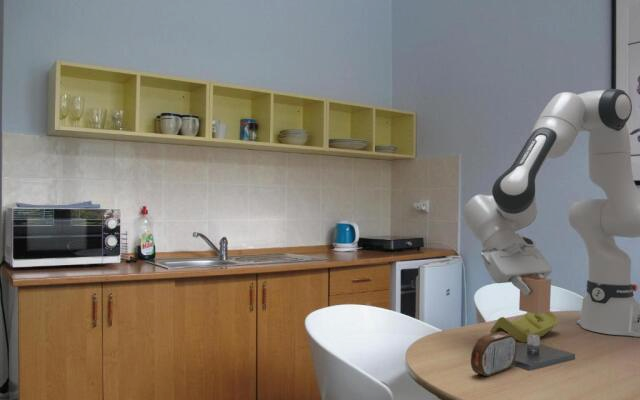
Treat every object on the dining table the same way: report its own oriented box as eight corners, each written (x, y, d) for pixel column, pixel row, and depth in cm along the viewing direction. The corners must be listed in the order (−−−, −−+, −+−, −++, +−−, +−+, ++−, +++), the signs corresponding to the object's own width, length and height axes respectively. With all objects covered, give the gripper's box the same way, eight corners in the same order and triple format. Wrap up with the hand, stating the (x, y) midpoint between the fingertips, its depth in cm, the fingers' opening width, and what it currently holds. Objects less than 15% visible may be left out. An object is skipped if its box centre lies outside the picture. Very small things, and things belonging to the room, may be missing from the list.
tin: (505, 364, 127) (507, 328, 127) (518, 367, 125) (519, 330, 125) (468, 377, 117) (470, 338, 117) (481, 381, 115) (483, 341, 115)
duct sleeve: (531, 308, 137) (532, 276, 137) (549, 312, 133) (551, 279, 133) (519, 310, 134) (520, 277, 134) (537, 314, 130) (538, 280, 130)
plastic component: (527, 336, 145) (497, 313, 152) (516, 357, 148) (487, 334, 154) (564, 320, 157) (534, 300, 164) (553, 341, 160) (524, 320, 167)
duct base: (531, 346, 143) (532, 326, 143) (574, 358, 133) (575, 337, 133) (485, 356, 133) (486, 334, 133) (529, 370, 123) (529, 347, 123)
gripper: (485, 241, 133) (518, 288, 125) (536, 239, 144) (570, 282, 137) (470, 257, 137) (501, 304, 129) (521, 254, 148) (553, 296, 140)
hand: (537, 292), depth 133 cm, fingers closed on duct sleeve, 5 cm apart
